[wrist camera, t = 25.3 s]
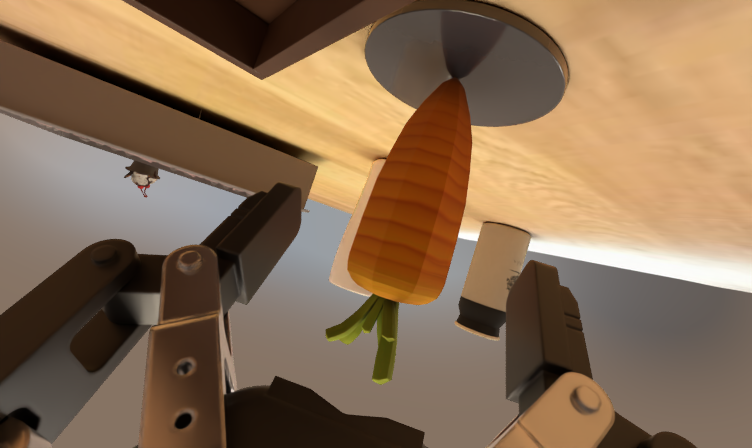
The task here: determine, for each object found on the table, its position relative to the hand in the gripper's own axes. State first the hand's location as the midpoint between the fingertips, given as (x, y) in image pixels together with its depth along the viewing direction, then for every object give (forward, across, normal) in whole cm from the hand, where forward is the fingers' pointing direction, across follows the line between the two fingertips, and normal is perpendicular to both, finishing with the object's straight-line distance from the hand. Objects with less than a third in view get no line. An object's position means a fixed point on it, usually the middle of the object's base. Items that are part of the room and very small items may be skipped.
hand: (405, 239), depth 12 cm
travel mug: (+41, -15, +28) cm, 52 cm away
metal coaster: (+10, 0, -3) cm, 11 cm away
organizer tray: (+34, +40, +20) cm, 56 cm away
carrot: (+10, 0, -3) cm, 10 cm away
